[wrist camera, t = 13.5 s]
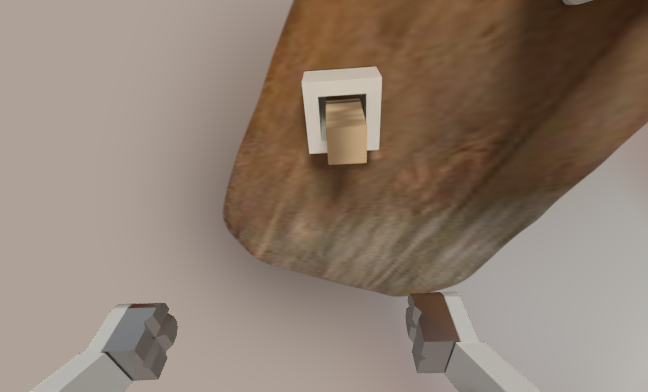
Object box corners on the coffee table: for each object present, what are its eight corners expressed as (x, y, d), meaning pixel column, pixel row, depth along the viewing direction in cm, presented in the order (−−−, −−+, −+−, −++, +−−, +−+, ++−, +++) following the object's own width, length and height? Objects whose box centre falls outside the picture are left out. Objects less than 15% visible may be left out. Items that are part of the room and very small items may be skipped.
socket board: (376, 66, 38) (381, 77, 34) (374, 133, 43) (378, 149, 39) (304, 71, 38) (301, 82, 34) (311, 137, 43) (309, 153, 39)
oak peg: (357, 89, 39) (367, 126, 29) (357, 119, 41) (366, 163, 32) (325, 91, 39) (325, 128, 29) (327, 121, 42) (328, 165, 32)
